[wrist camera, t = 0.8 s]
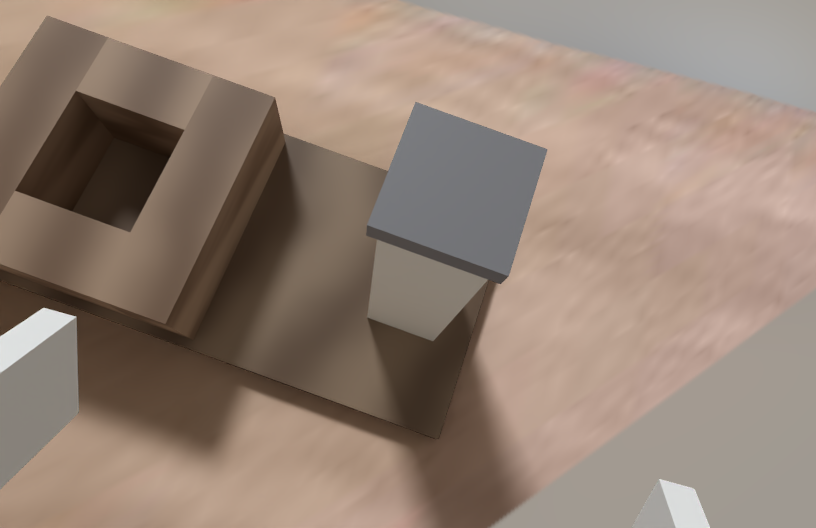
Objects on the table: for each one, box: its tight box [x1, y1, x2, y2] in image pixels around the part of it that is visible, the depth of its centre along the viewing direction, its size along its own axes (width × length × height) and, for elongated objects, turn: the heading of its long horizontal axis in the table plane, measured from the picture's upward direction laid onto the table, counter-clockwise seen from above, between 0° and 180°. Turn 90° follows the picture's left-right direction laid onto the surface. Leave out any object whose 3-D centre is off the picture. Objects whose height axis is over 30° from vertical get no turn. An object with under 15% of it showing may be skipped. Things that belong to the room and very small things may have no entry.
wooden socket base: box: [0, 16, 489, 439], centre depth 32 cm, size 29×14×6 cm, turn 71°
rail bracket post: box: [366, 102, 547, 341], centre depth 26 cm, size 5×5×16 cm
